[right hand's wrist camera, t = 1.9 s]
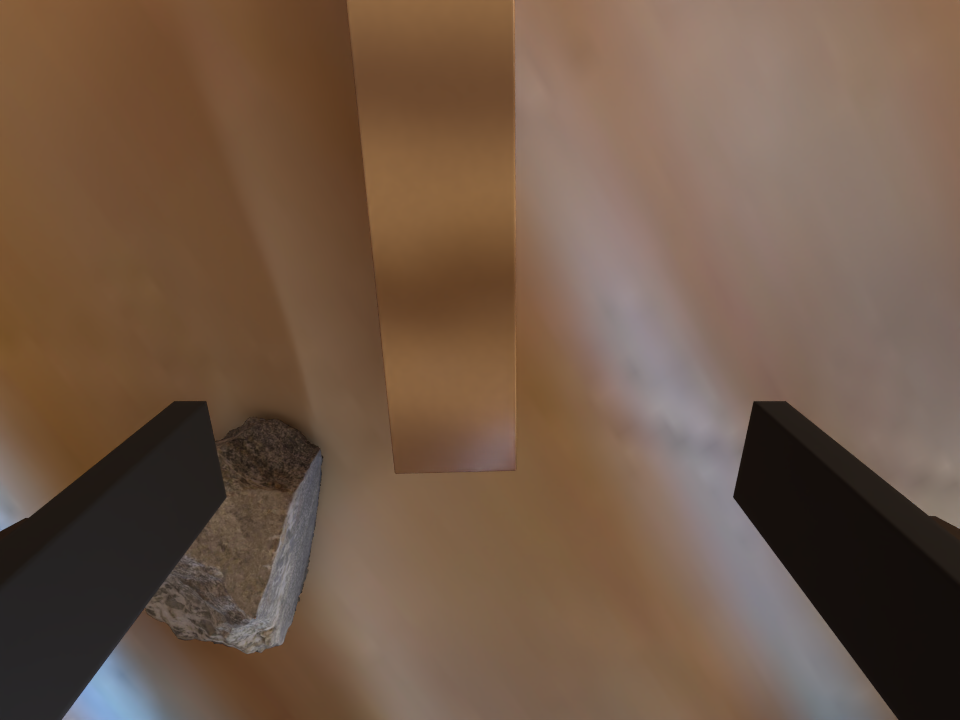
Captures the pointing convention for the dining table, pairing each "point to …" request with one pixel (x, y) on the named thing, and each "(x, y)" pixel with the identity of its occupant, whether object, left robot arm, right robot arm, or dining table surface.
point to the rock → (249, 543)
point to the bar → (442, 223)
